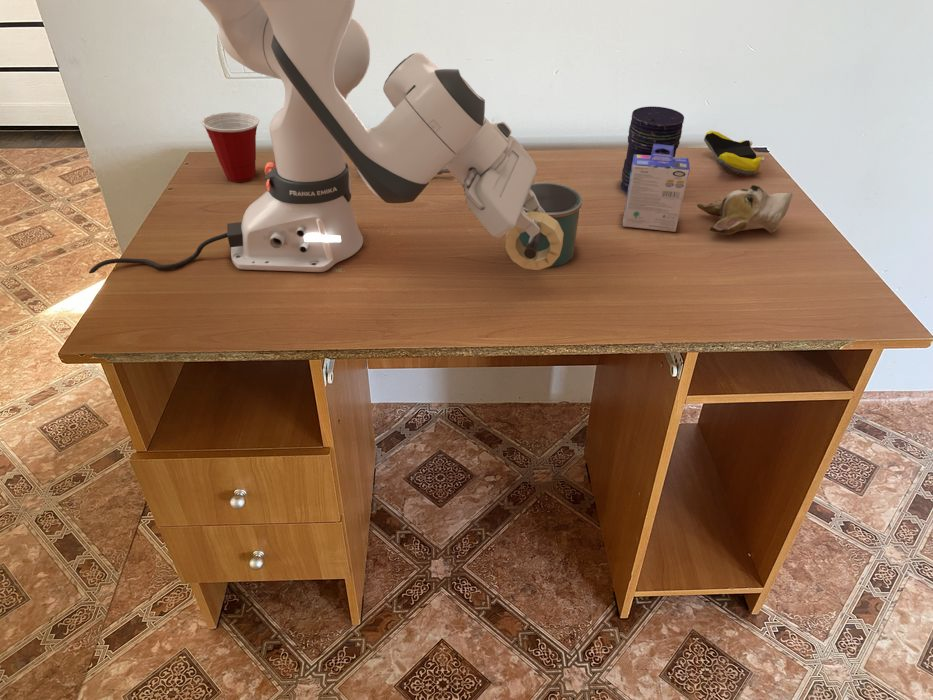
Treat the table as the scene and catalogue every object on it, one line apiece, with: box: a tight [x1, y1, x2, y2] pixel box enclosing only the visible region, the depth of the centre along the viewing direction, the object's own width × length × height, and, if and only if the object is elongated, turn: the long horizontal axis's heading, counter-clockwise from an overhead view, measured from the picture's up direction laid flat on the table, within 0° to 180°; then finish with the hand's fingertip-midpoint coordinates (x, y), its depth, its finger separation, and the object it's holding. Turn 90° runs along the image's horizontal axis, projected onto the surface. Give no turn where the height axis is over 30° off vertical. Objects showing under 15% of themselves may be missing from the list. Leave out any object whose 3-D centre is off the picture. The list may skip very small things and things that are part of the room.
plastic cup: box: [201, 111, 260, 183], centre depth 138 cm, size 11×11×12 cm
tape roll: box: [504, 211, 564, 271], centre depth 105 cm, size 8×3×8 cm, turn 76°
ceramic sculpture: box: [696, 184, 793, 236], centre depth 123 cm, size 11×9×15 cm
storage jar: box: [619, 106, 685, 195], centre depth 134 cm, size 10×10×15 cm
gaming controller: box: [703, 130, 765, 178], centre depth 145 cm, size 15×6×10 cm
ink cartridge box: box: [622, 144, 691, 233], centre depth 123 cm, size 10×6×14 cm, turn 78°
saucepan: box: [519, 182, 583, 268], centre depth 112 cm, size 22×12×10 cm, turn 166°
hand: (539, 225), depth 103 cm, fingers closed on tape roll, 3 cm apart
